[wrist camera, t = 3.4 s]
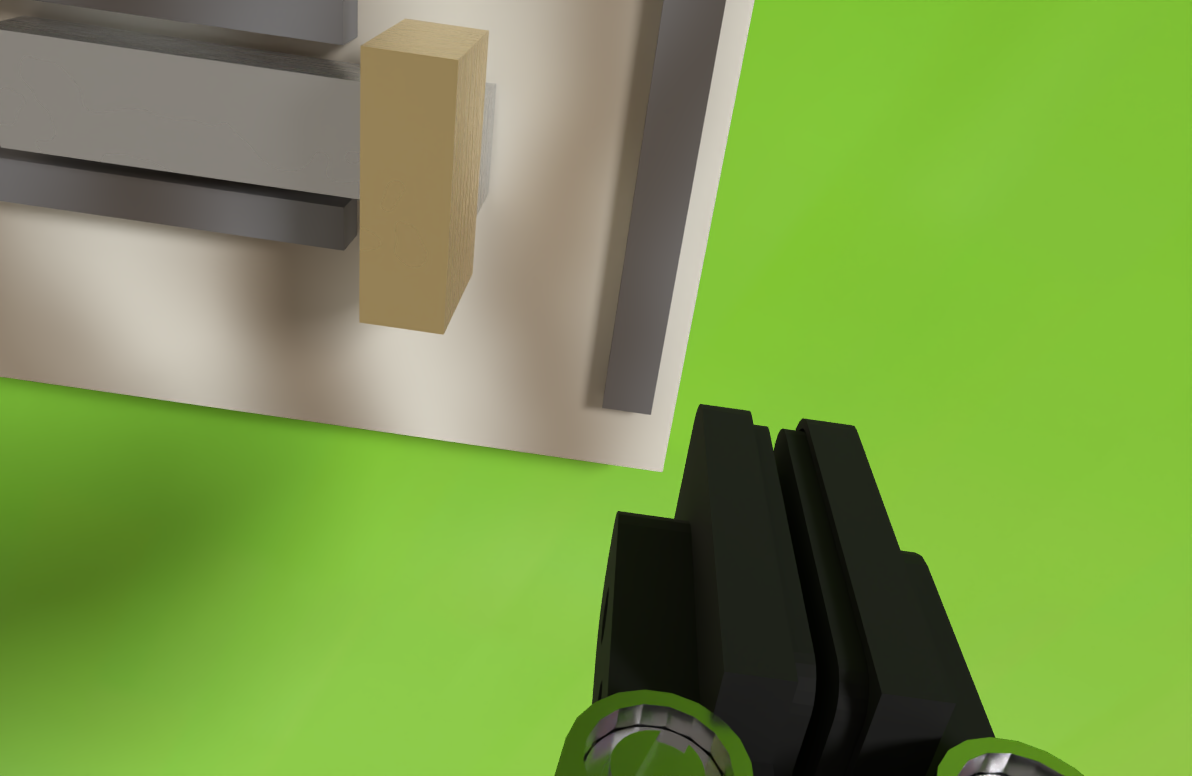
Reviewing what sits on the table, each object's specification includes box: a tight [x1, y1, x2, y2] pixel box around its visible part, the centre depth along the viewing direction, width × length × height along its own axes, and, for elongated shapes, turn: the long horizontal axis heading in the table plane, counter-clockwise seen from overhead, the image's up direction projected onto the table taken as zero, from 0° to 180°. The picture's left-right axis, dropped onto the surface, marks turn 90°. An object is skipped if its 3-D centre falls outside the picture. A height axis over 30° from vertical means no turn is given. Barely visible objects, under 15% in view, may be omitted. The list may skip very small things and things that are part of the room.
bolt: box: [0, 16, 496, 335], centre depth 19 cm, size 10×5×4 cm, turn 83°
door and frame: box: [0, 0, 754, 472], centre depth 20 cm, size 28×16×5 cm, turn 83°
